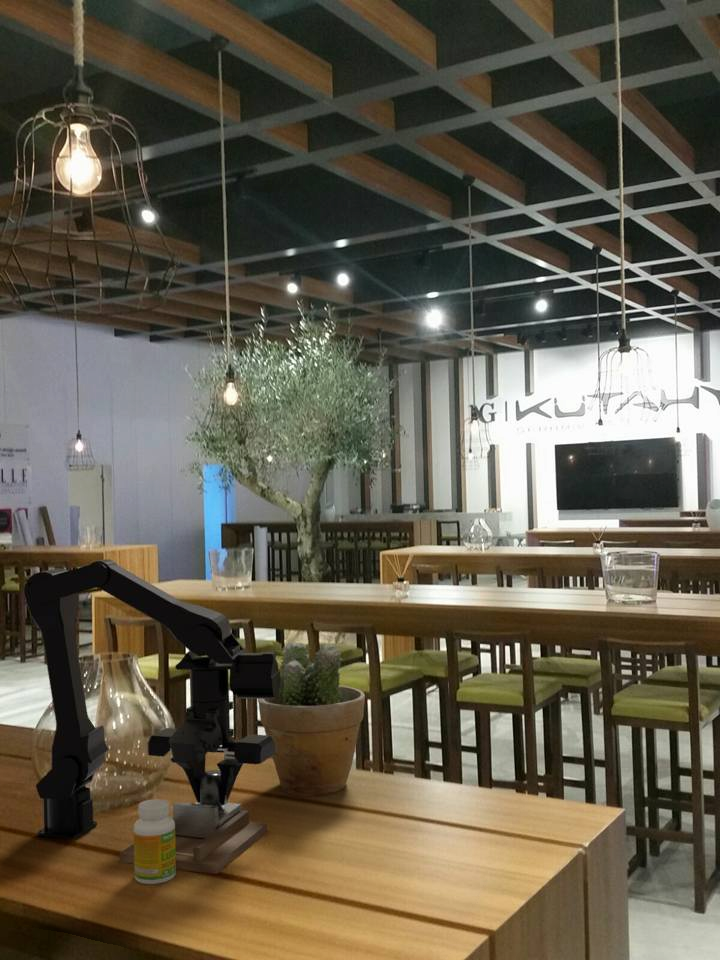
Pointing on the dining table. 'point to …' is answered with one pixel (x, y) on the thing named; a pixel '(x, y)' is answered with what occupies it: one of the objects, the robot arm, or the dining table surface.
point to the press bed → (212, 845)
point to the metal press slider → (204, 809)
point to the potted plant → (312, 722)
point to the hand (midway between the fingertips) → (212, 803)
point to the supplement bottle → (154, 843)
